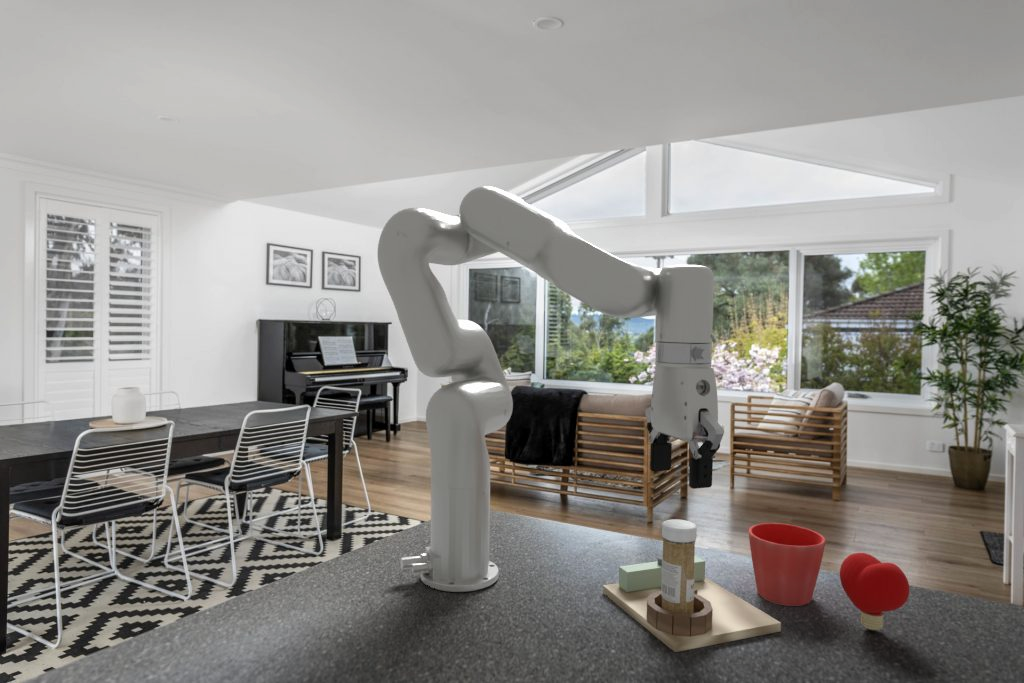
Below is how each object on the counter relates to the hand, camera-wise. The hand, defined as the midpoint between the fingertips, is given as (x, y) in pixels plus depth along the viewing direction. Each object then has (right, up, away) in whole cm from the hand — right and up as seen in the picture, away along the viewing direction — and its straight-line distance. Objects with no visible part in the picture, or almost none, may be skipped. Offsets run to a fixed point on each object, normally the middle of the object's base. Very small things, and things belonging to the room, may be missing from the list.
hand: (679, 478), depth 93 cm
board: (+2, -20, +4) cm, 20 cm away
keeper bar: (0, -18, +11) cm, 21 cm away
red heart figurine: (+26, -21, -1) cm, 33 cm away
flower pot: (+19, -20, +10) cm, 29 cm away
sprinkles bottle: (-1, -19, -2) cm, 19 cm away
